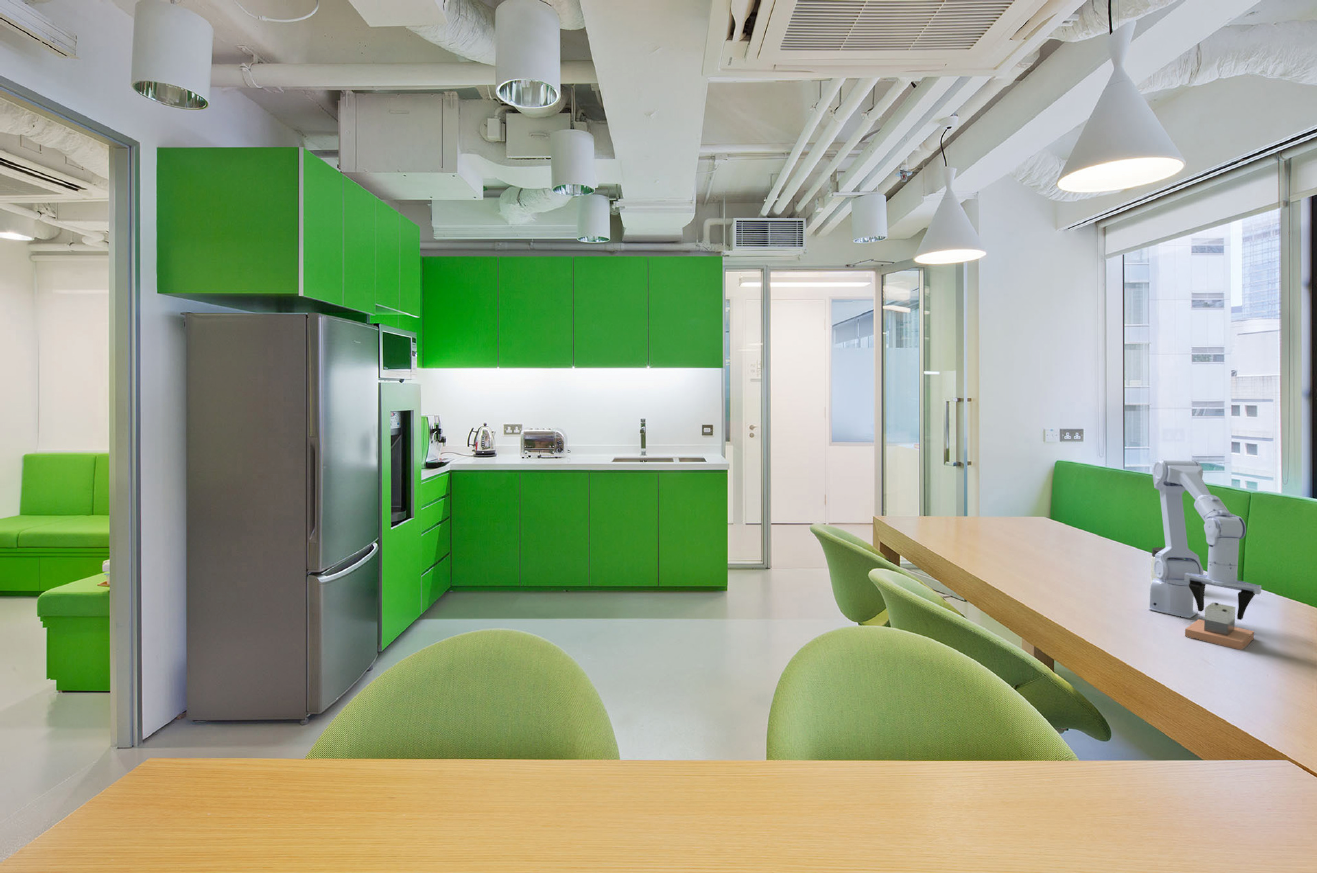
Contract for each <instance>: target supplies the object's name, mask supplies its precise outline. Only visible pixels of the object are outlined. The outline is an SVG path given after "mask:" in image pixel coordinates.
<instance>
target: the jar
mask: <svg viewBox="0 0 1317 873" xmlns="http://www.w3.org/2000/svg"><path fill="white" fill-rule="evenodd" d="M1164 548H1165V547H1163V546H1161V547H1158V546H1156V547H1152V548H1151V560H1150V578H1149V579H1150V580H1149V581H1150V582H1149V583H1150V585H1151V583H1152V580H1153V579H1155V578H1156V579H1159V578H1158V577H1157V576H1156V575H1155V572H1154V563H1155V554H1156V553H1158V552H1159V551H1161V550H1162V549H1164ZM1167 559H1179V560H1185V559H1183V558H1167Z"/></svg>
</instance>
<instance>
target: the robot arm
mask: <svg viewBox="0 0 1317 873" xmlns="http://www.w3.org/2000/svg"><path fill="white" fill-rule="evenodd" d="M1203 474H1204V470H1203V466H1202V464H1201V463H1200V461H1198V460H1196V459H1195V460H1164V459H1159V460H1157V461H1156V462H1155V463H1154V464H1153V467H1152V481H1153V487H1154V489H1156V490H1157V491H1159V499H1160V500H1159V501H1160V508H1161V516H1162V527H1163V528H1162V529H1163V534H1164V535H1163V536H1164V537H1163V538H1164V543H1165V544H1164V545H1165V547H1164V549H1162V550H1161V551H1159V552H1158V553H1156V554H1155V563H1154V572H1155V575H1156V576H1157V577H1158V578H1159V579H1156V578H1155V579H1153V580H1152V583H1151V584H1150V589H1149V590H1150V591H1149V607H1148V610H1150V611H1153V612H1158V613H1163V614H1168V615H1172V616H1176V617H1180V616H1181V618H1185V619H1191V618H1193V617H1194V616H1196V615H1197V614H1198V612H1203V611H1205V590H1206V586H1207V585H1209V586H1214V587H1219V588H1224V589H1231V590H1236V591H1239V592H1238V593H1237V600H1238V602H1237V604H1238V605H1237V607H1238V608H1237V614H1236V618H1237V620H1240V621H1242V620H1243V619H1244V615H1245V612H1246V610H1247V608H1248V605H1249V604H1250V603H1251V601H1252V600H1253V598H1254V597H1255V596H1256V595H1260V594H1261V593H1262V585H1260V584H1259V585H1258V584H1255V583H1250V582H1247V581H1242V580H1238V570H1239V566H1238V565H1239V552H1240V551H1239V549H1240V540H1242V539H1244V537H1245V536H1246V534H1247V526H1246V523H1245V521H1244V520H1243V518H1242V517H1241V516H1239V515H1236V514H1235V513H1231V512H1230V510H1228V508H1227V507H1226V505H1225V503H1224V502H1223V501H1222V499H1221V498H1220V497H1218V495H1217V496H1216V495H1214V494H1212V493H1211V492H1210V491H1209V489H1208V487H1207V486H1206V483H1205V481H1204V480H1203ZM1185 491H1187V492H1188V493H1189V494H1190V496H1191V497H1192V498H1193V499H1194V500H1195V501H1194V504H1193V507H1194V508H1195V510H1196V512H1197V513H1198V514H1199V517H1201V519H1202V520H1203V522H1204V524H1203V528H1204V529H1203V530H1204V531H1203V532H1204V533H1205V537H1206V538H1205V541H1206V543H1207V544H1208V550H1207V551H1208V553H1207V554H1208V555H1207V570H1206V571H1207V572H1206V574H1207V575H1206V574H1204V568H1203V566H1202V565H1203V564H1201V559H1200V556H1199V555H1198V554H1197V553H1195V552H1194V551H1193V550H1191V549H1190V548H1189V545H1188V537H1187V535H1188V534H1187V528H1186V519H1185V510H1184V503H1183V494H1184V493H1185ZM1167 558H1183V559H1184V560H1179V559H1167ZM1194 599H1195V603H1196V606H1197V610H1194Z"/></svg>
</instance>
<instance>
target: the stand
mask: <svg viewBox="0 0 1317 873" xmlns="http://www.w3.org/2000/svg"><path fill="white" fill-rule="evenodd" d="M1204 622H1205V619H1200V618H1198V619H1197V620H1196V621H1194V622H1193V623H1191V624H1190V625H1189V626H1187V627H1186V628H1185V630H1184V631H1185V632H1184V637H1185V636H1188V637H1187V638H1189V637H1191V638H1190V639H1193V638H1197V639H1196V640H1198V639H1199V641H1202V640H1204V641H1203V642H1206V641H1207V642H1206V643H1211V644H1215V645H1220V646H1223V647H1227V648H1232V649H1235V650H1236V649H1237V650H1240V649H1241V650H1240V651H1243V650H1244V649H1245V648H1246V647H1247V646H1248V645H1249V644H1251V642H1252V641H1253V640H1255V631H1254V630H1250V629H1245V628H1241V627H1237V626H1235V628H1234V631H1232V632H1231V633H1230V634H1229V635H1228V636H1225V635H1221V634H1216V633H1212V632H1208V631H1204ZM1251 640H1252V641H1251ZM1244 647H1245V648H1244ZM1242 649H1243V650H1242Z"/></svg>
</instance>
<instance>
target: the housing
mask: <svg viewBox="0 0 1317 873" xmlns="http://www.w3.org/2000/svg"><path fill="white" fill-rule="evenodd" d="M1204 620H1205V622H1204V631H1208V632H1212V633H1216V634H1221V635H1225V636H1228V635H1229V634H1230V633H1231V632H1232V631H1234V628H1235V627H1236V623H1235V622H1236V606H1233V605H1232V606H1231V605H1227V604H1221V603H1219V602H1212V603H1210V604H1208V605H1207V606H1205V607H1204Z"/></svg>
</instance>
